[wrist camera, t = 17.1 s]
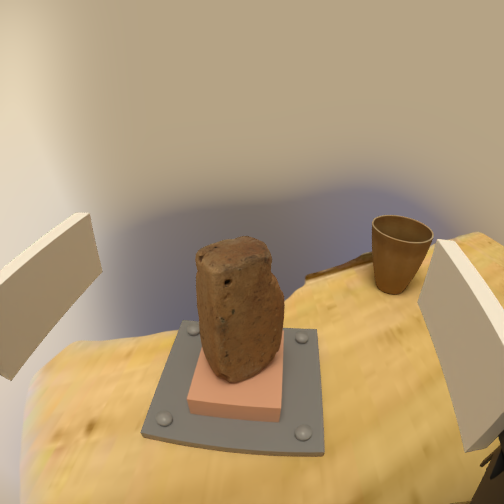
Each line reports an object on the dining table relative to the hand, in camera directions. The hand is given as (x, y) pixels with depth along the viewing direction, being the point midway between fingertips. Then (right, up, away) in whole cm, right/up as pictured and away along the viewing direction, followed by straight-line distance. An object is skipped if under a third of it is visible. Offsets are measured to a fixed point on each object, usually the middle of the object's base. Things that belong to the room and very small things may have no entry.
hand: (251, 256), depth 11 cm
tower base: (-2, -21, +38) cm, 44 cm away
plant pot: (+34, -8, +63) cm, 72 cm away
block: (-2, -17, +36) cm, 40 cm away
